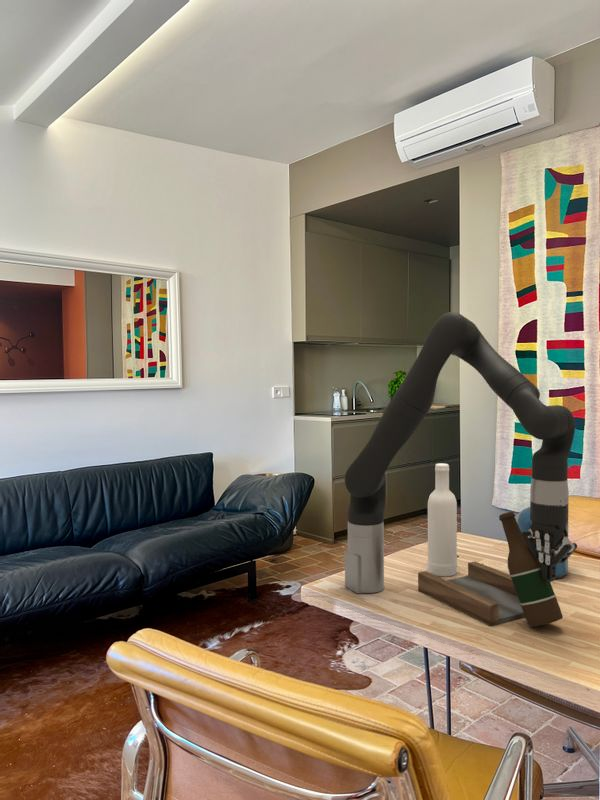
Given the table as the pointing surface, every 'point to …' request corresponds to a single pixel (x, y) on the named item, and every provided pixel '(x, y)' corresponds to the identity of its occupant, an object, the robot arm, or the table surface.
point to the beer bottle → (528, 577)
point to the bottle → (442, 526)
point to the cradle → (476, 593)
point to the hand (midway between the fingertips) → (548, 580)
